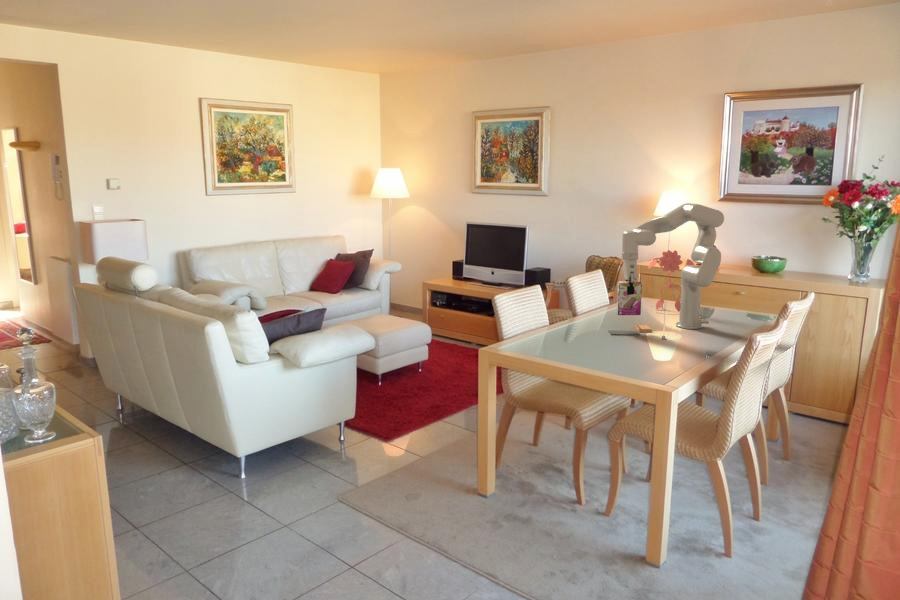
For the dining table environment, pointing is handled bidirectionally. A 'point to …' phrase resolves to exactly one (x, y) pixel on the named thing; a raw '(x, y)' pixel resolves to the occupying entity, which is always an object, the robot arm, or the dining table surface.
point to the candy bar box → (629, 299)
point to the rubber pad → (623, 332)
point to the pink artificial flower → (670, 263)
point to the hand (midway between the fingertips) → (629, 292)
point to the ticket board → (643, 328)
